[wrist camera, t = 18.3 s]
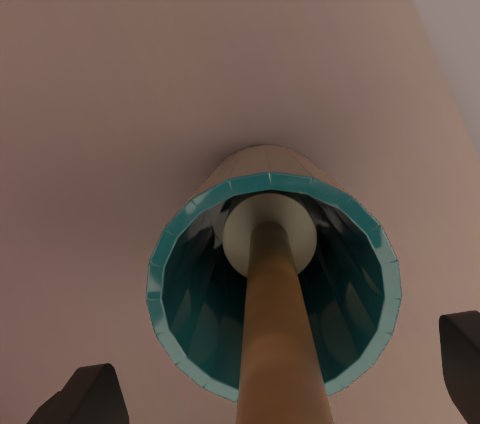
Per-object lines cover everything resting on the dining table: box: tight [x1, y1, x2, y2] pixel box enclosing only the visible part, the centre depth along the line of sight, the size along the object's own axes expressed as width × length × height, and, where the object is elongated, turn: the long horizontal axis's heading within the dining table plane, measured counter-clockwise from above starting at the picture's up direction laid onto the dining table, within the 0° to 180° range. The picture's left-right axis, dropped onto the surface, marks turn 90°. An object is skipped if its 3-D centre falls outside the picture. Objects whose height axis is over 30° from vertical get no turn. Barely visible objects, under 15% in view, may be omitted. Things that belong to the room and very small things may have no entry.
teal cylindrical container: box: [146, 145, 402, 403], centre depth 20 cm, size 9×9×14 cm
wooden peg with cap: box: [222, 189, 334, 424], centre depth 17 cm, size 5×5×20 cm
